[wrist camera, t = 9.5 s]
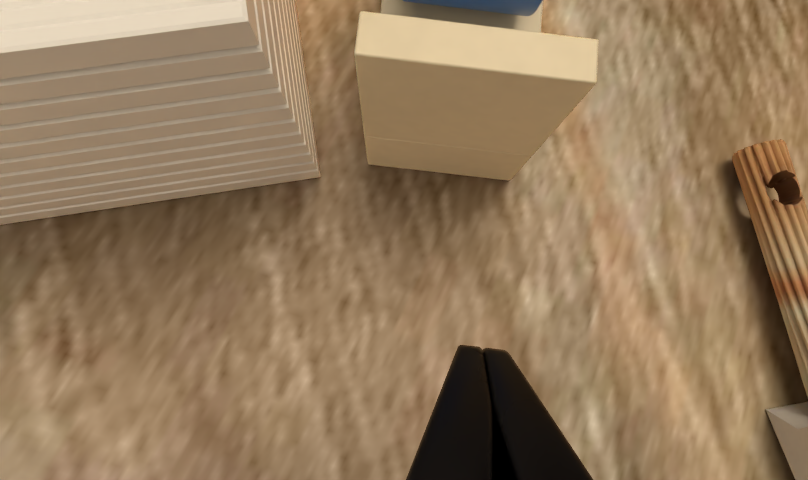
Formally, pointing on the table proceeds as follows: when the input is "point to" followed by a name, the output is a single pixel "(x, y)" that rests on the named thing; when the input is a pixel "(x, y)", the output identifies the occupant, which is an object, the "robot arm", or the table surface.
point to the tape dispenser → (465, 84)
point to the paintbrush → (782, 271)
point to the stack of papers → (148, 102)
